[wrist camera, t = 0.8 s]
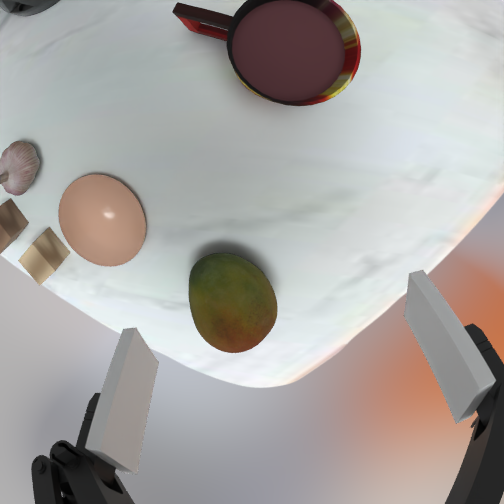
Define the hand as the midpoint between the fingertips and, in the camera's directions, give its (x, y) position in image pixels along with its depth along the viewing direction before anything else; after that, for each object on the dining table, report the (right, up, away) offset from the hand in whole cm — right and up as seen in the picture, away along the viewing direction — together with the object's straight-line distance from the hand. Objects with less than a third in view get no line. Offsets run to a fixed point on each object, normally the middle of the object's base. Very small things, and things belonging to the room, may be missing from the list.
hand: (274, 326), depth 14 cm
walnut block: (-38, +8, +22) cm, 45 cm away
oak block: (-31, +4, +25) cm, 40 cm away
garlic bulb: (-32, +16, +18) cm, 40 cm away
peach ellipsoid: (-21, +8, +23) cm, 32 cm away
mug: (0, +24, +14) cm, 28 cm away
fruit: (-4, -1, +28) cm, 29 cm away
